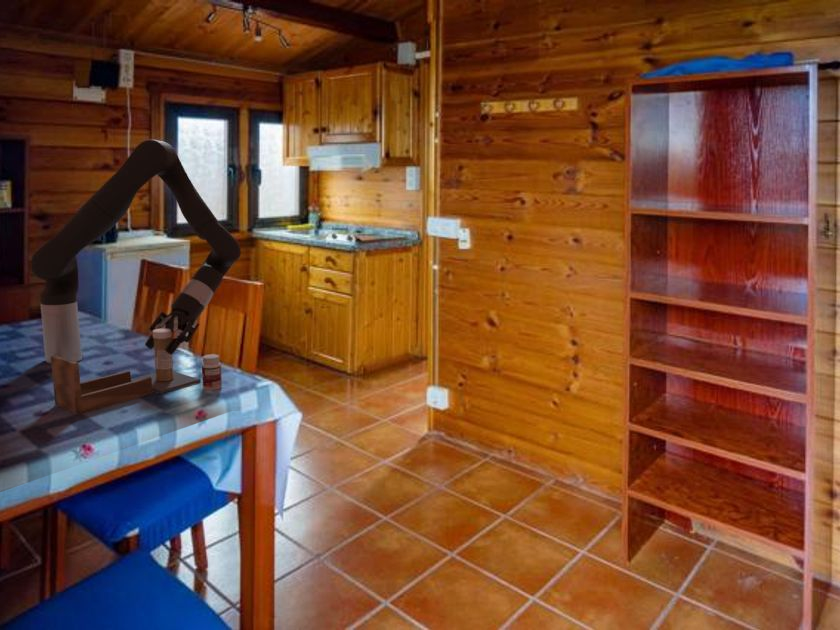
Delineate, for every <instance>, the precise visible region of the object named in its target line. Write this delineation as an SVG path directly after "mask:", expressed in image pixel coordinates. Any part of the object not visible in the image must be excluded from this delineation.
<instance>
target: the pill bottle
mask: <svg viewBox="0 0 840 630" xmlns="http://www.w3.org/2000/svg"><path fill="white" fill-rule="evenodd" d="M201 376H202V388H203V390H206V391H215V389H216V390H220V388H222V386H223V381H222V380H223V379H222V363H220V355H218V354H214V353H211V354H205V355H203V356H202V364H201Z"/></svg>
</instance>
